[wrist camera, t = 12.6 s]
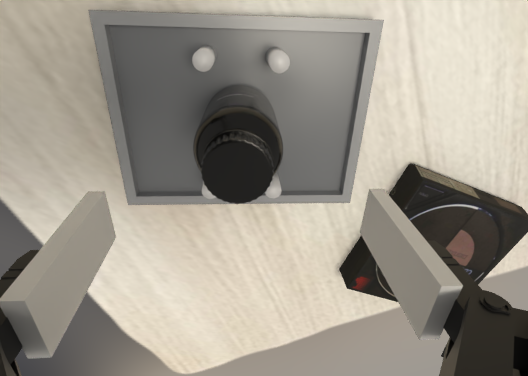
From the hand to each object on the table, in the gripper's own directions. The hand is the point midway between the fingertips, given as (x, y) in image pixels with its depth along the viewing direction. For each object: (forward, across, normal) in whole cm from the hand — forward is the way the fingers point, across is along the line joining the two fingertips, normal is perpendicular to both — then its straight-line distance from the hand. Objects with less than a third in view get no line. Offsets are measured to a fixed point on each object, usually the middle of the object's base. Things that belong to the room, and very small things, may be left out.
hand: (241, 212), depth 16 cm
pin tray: (+18, 0, 0) cm, 18 cm away
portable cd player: (+19, +24, -16) cm, 35 cm away
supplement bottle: (+17, 0, 0) cm, 17 cm away
